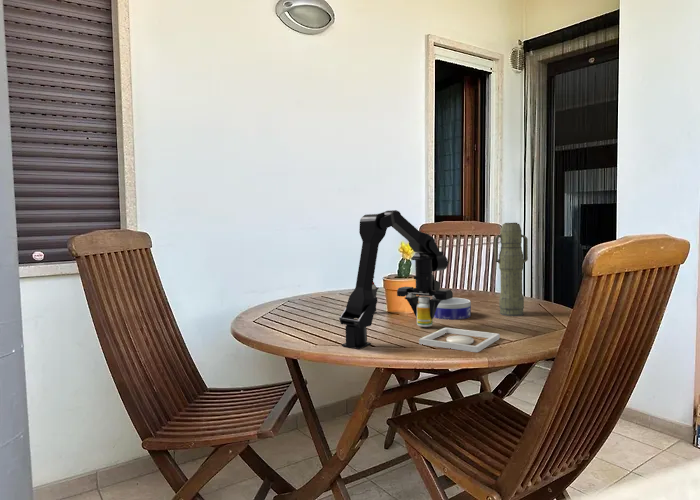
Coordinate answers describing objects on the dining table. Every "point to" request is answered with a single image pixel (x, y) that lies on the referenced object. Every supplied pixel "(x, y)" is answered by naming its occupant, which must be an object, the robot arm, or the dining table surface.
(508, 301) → the thermos
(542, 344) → the dining table surface
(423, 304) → the supplement bottle
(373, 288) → the sundae
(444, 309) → the dog bowl
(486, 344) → the corral
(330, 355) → the dining table surface
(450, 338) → the plinth
